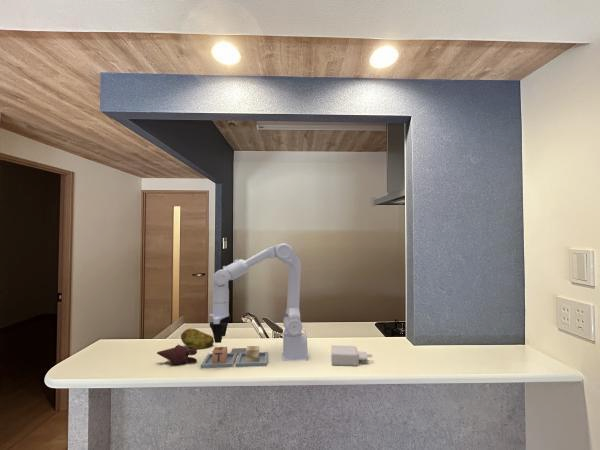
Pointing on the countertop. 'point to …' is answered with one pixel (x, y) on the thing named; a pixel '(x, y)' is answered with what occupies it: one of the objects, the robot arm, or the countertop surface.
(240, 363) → the dish
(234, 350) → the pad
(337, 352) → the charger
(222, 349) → the letter cube
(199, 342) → the potato
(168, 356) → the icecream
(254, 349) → the plain cube
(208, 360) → the dish
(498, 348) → the countertop surface
